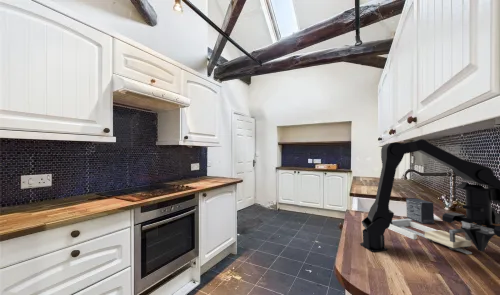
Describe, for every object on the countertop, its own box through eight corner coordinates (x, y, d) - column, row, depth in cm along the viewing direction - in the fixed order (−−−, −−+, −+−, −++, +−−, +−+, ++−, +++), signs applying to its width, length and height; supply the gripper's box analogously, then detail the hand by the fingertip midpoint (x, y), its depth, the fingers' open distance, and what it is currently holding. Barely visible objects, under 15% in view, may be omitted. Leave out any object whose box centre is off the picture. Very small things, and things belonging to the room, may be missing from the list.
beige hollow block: (453, 251, 72) (452, 230, 72) (424, 240, 82) (423, 221, 82) (471, 249, 73) (470, 229, 74) (441, 238, 83) (440, 220, 83)
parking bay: (452, 256, 70) (452, 247, 70) (384, 227, 98) (384, 220, 98) (485, 251, 72) (485, 243, 72) (409, 224, 100) (409, 218, 100)
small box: (435, 224, 101) (434, 202, 101) (422, 224, 101) (421, 202, 101) (418, 217, 111) (417, 198, 112) (406, 217, 111) (405, 198, 112)
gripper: (540, 208, 60) (543, 262, 60) (464, 196, 79) (466, 237, 78) (510, 211, 58) (514, 267, 58) (440, 198, 77) (442, 240, 76)
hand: (480, 250), depth 68 cm, fingers closed
